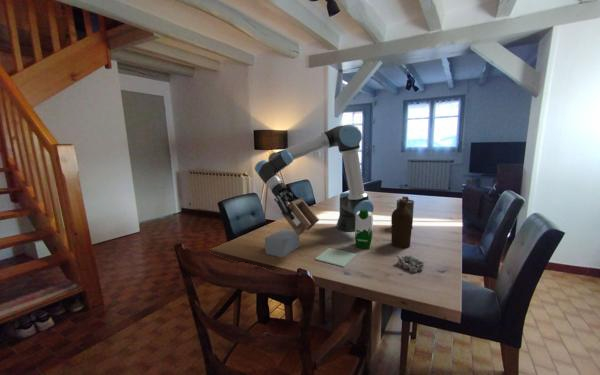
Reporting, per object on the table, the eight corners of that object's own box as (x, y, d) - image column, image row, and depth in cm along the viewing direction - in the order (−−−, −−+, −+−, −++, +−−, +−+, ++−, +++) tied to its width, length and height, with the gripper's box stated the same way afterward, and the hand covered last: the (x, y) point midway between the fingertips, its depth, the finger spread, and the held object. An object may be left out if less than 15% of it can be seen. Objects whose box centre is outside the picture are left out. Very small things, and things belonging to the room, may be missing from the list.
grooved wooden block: (281, 232, 133) (280, 200, 130) (292, 227, 140) (291, 196, 137) (310, 238, 124) (309, 203, 121) (319, 232, 131) (319, 199, 128)
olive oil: (414, 248, 139) (417, 201, 134) (394, 248, 139) (396, 201, 134) (406, 240, 149) (409, 196, 145) (387, 241, 149) (389, 197, 145)
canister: (414, 230, 166) (416, 198, 162) (396, 229, 168) (398, 198, 165) (410, 225, 176) (412, 195, 173) (394, 224, 179) (395, 194, 175)
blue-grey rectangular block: (265, 253, 136) (264, 238, 135) (284, 242, 149) (283, 229, 148) (281, 257, 131) (280, 241, 129) (299, 246, 144) (299, 232, 142)
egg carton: (395, 263, 123) (395, 255, 122) (408, 260, 126) (408, 252, 125) (412, 273, 113) (412, 264, 113) (426, 270, 116) (426, 261, 115)
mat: (329, 248, 140) (329, 247, 140) (356, 255, 132) (356, 254, 132) (315, 259, 128) (315, 258, 128) (344, 267, 120) (344, 266, 119)
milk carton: (353, 247, 141) (354, 210, 137) (356, 241, 149) (356, 206, 146) (371, 249, 138) (372, 212, 134) (372, 243, 146) (373, 207, 143)
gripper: (285, 187, 146) (311, 220, 141) (258, 195, 128) (286, 232, 123) (293, 178, 142) (319, 211, 137) (266, 185, 125) (296, 223, 119)
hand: (304, 221), depth 130 cm, fingers closed on grooved wooden block, 9 cm apart
